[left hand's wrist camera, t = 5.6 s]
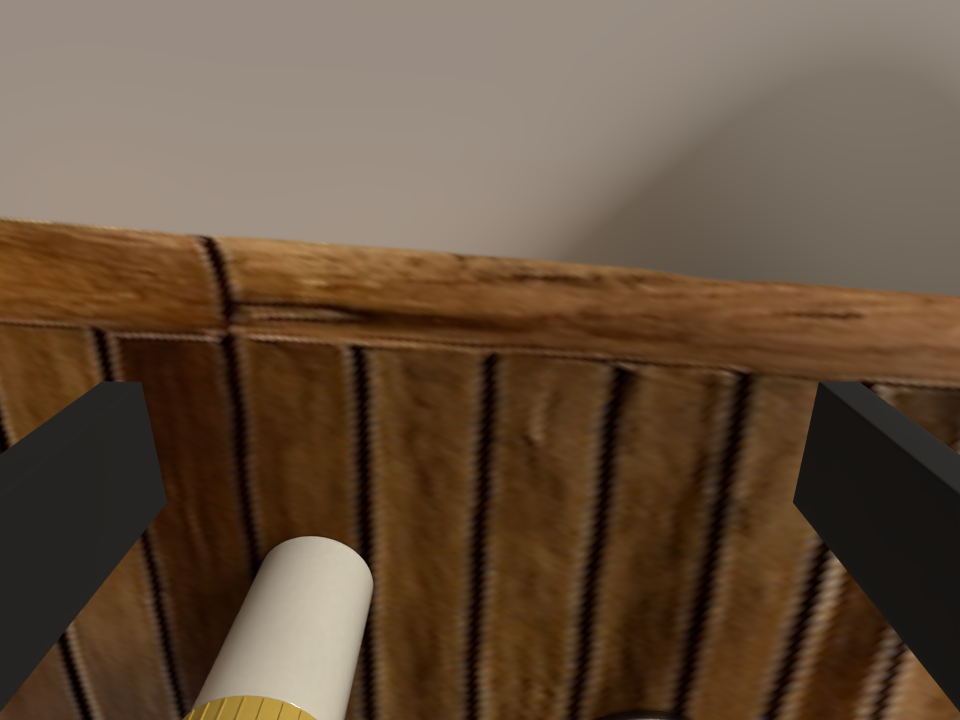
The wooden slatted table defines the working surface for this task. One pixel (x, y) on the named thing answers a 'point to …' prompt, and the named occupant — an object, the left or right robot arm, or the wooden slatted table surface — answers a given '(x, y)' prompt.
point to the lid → (248, 710)
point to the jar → (297, 630)
